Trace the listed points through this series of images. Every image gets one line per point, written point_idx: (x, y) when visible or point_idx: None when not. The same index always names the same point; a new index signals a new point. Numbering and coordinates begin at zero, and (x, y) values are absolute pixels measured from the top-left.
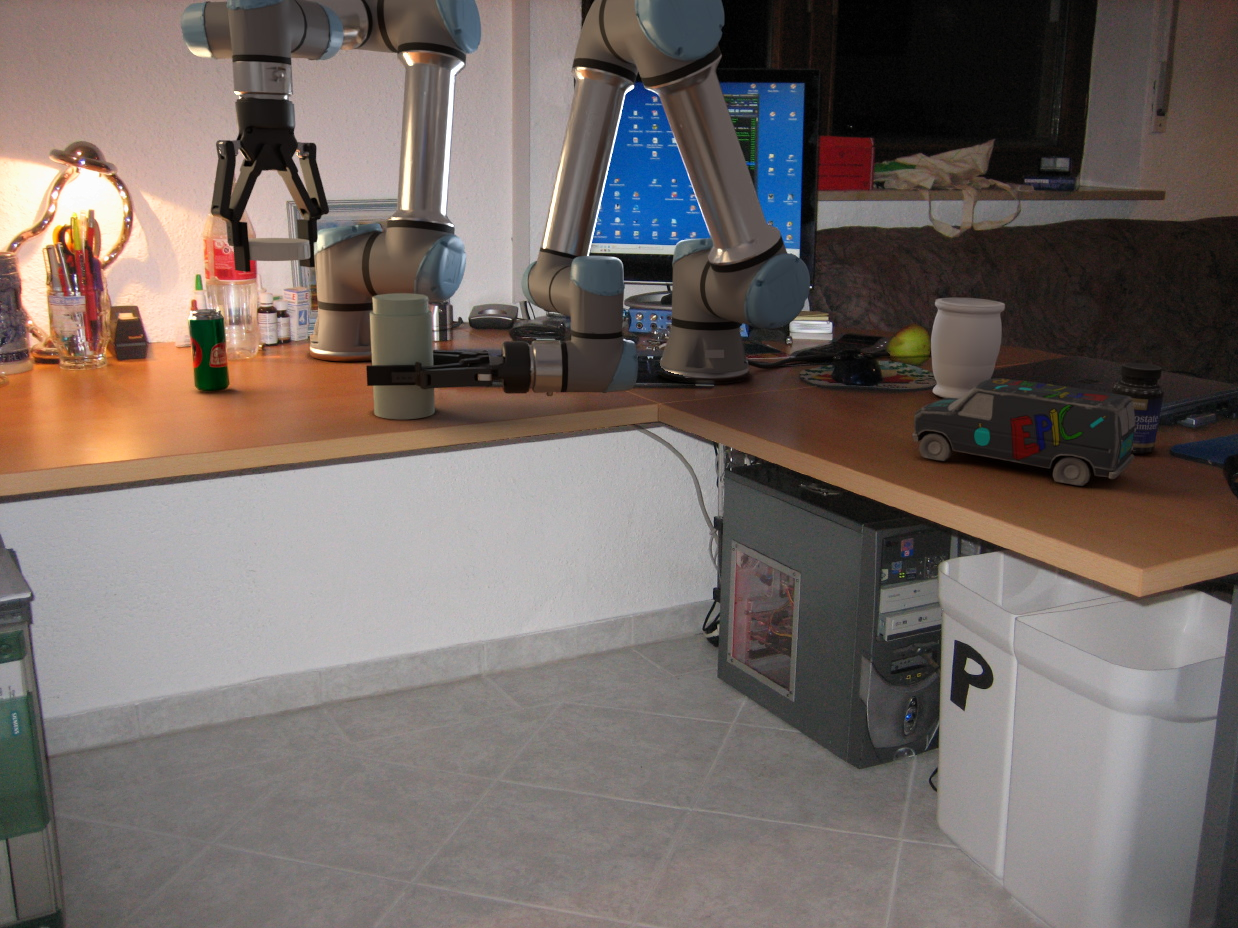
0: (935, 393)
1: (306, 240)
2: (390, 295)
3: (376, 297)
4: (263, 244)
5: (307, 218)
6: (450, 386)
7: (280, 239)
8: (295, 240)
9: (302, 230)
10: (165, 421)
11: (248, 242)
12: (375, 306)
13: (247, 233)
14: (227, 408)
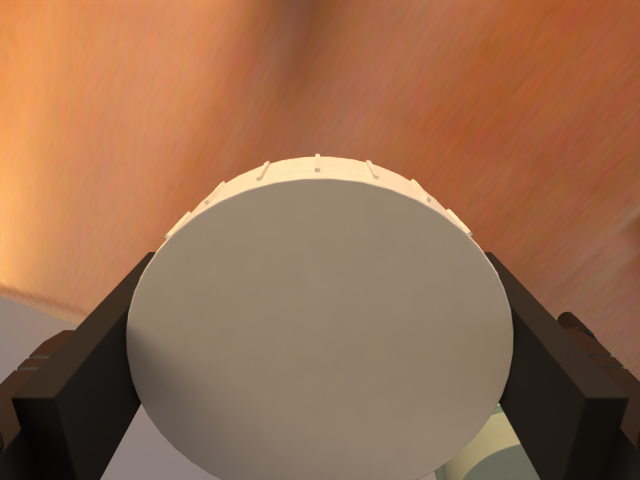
0: None
1: (459, 439)
2: (531, 469)
3: (475, 476)
4: (192, 457)
5: (613, 474)
6: None
7: (390, 329)
8: (413, 416)
9: (534, 398)
10: (104, 101)
11: (137, 408)
12: (452, 468)
13: (114, 448)
14: (239, 83)
